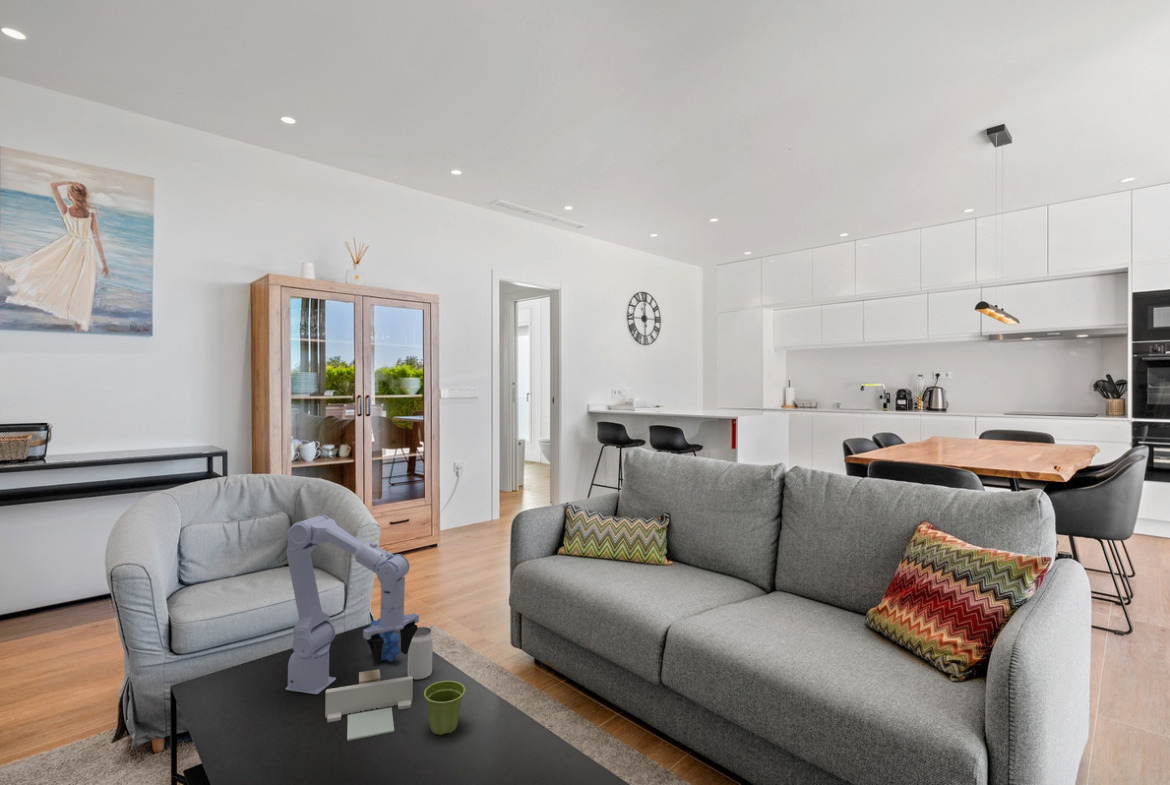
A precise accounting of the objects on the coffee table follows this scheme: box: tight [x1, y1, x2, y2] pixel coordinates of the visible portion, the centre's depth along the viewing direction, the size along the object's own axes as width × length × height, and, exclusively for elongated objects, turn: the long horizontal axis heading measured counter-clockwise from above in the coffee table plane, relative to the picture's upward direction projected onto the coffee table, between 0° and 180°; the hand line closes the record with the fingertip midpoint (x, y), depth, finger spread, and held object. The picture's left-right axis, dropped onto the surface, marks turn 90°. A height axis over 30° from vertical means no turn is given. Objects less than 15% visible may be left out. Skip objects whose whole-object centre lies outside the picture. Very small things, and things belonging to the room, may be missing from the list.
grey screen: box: [324, 675, 414, 723], centre depth 144 cm, size 20×6×6 cm, turn 111°
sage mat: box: [346, 706, 395, 742], centre depth 137 cm, size 10×10×1 cm
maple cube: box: [358, 669, 381, 684], centre depth 150 cm, size 5×5×5 cm
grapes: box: [369, 617, 401, 663], centre depth 167 cm, size 12×7×12 cm, turn 64°
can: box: [407, 626, 434, 681], centre depth 160 cm, size 6×6×12 cm
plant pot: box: [423, 680, 466, 735], centre depth 136 cm, size 9×9×9 cm
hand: (391, 657), depth 149 cm, fingers open, 7 cm apart
